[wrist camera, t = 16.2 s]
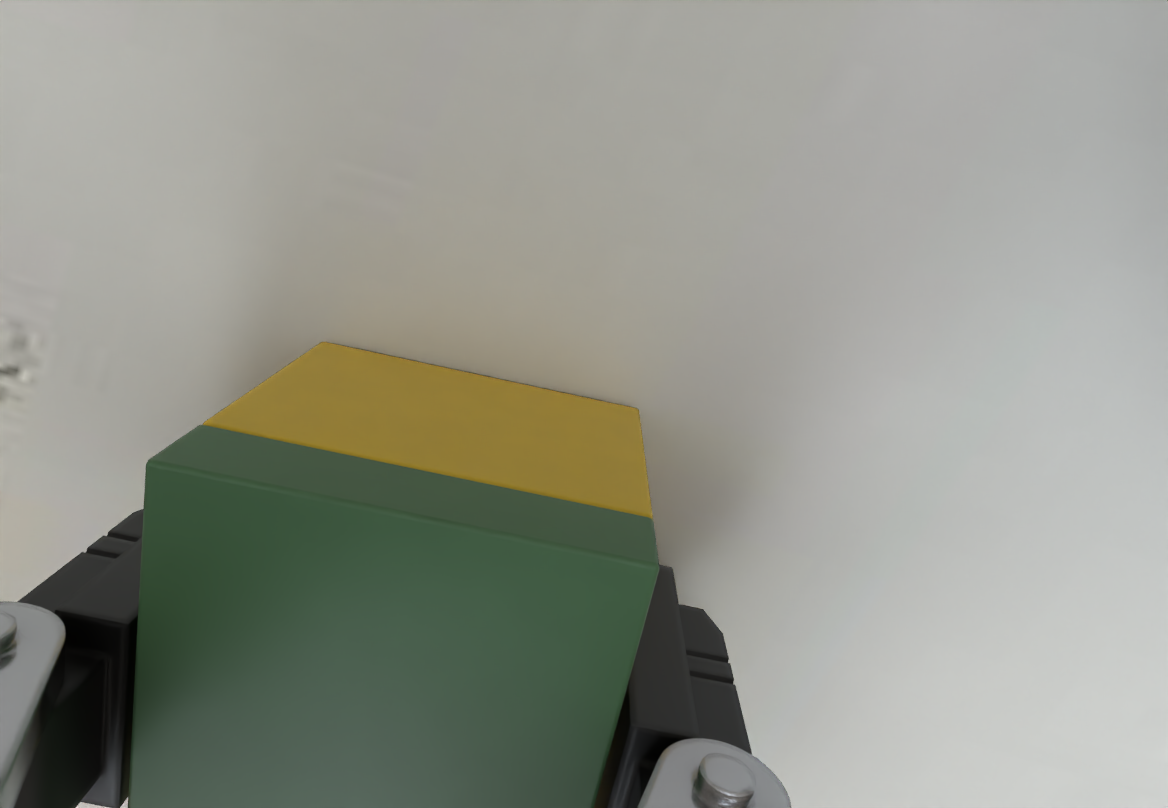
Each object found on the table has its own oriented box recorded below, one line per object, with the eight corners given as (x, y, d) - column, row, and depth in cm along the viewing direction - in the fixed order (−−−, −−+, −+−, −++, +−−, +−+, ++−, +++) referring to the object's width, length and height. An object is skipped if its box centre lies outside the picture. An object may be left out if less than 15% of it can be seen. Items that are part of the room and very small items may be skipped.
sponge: (320, 340, 11) (142, 459, 7) (640, 408, 11) (661, 567, 7) (278, 698, 13) (116, 971, 9) (554, 751, 13) (529, 1045, 9)
